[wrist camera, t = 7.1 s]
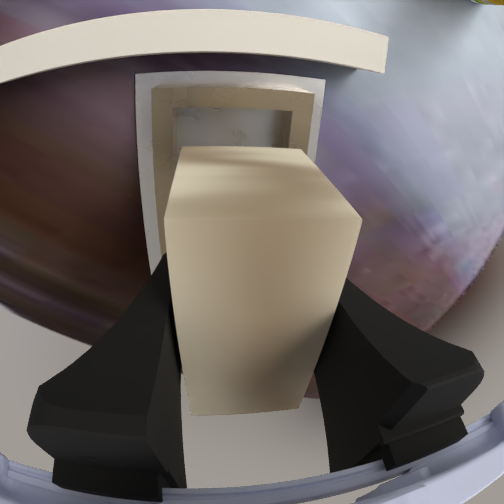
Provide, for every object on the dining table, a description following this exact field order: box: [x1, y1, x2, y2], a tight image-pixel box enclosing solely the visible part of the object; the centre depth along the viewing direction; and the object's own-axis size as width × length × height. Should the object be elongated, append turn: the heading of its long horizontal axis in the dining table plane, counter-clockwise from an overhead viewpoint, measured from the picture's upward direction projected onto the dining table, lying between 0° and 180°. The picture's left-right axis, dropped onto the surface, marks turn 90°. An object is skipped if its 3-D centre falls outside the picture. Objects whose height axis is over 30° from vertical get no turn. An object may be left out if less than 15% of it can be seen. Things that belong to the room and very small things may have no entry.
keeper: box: [135, 71, 326, 275], centre depth 17 cm, size 10×13×2 cm
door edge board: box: [0, 9, 389, 84], centre depth 12 cm, size 20×2×3 cm, turn 86°
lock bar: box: [164, 146, 362, 416], centre depth 10 cm, size 4×8×5 cm, turn 176°
